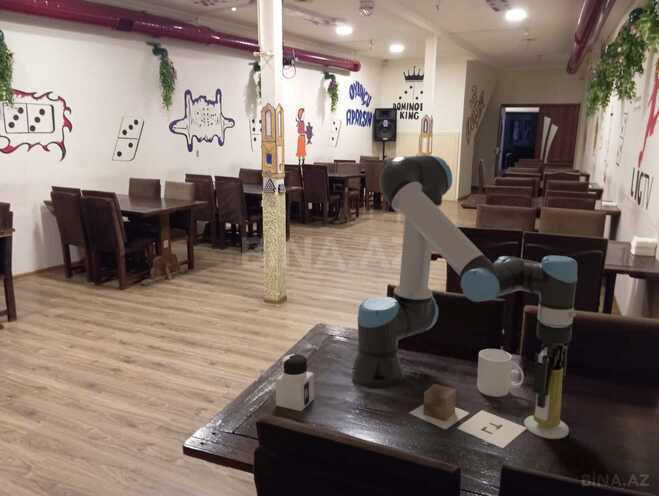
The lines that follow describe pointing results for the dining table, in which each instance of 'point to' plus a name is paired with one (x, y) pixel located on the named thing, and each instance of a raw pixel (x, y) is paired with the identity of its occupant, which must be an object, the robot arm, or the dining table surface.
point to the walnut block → (439, 402)
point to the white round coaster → (546, 429)
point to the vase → (553, 399)
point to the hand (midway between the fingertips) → (547, 413)
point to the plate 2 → (492, 428)
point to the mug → (496, 372)
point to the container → (294, 383)
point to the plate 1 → (443, 424)
